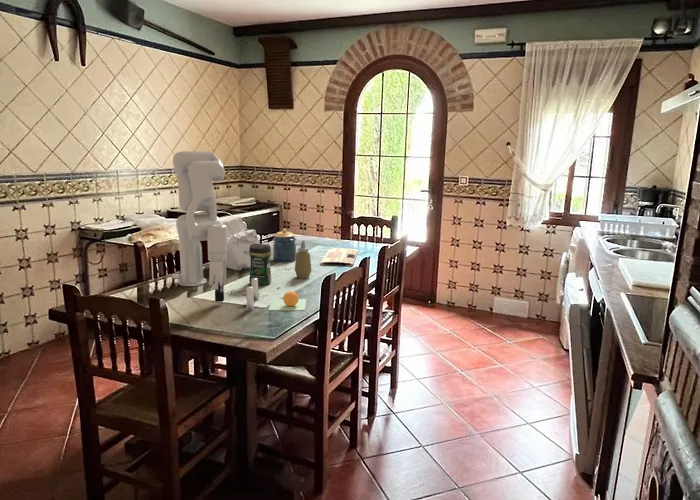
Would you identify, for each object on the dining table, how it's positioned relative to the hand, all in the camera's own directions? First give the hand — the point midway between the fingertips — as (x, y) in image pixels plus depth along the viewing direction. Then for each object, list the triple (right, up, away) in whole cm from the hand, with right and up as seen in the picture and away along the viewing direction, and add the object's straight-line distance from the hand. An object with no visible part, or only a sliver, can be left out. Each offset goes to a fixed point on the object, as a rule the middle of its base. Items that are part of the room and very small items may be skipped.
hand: (219, 300), depth 199 cm
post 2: (+13, 0, +7) cm, 15 cm away
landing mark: (+27, -2, +2) cm, 27 cm away
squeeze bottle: (+29, +7, +45) cm, 54 cm away
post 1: (+13, -3, -5) cm, 15 cm away
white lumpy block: (-7, +11, +61) cm, 62 cm away
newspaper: (+45, +15, +88) cm, 100 cm away
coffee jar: (+10, +5, +32) cm, 34 cm away
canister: (+15, +15, +82) cm, 84 cm away
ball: (+28, +1, -1) cm, 28 cm away
